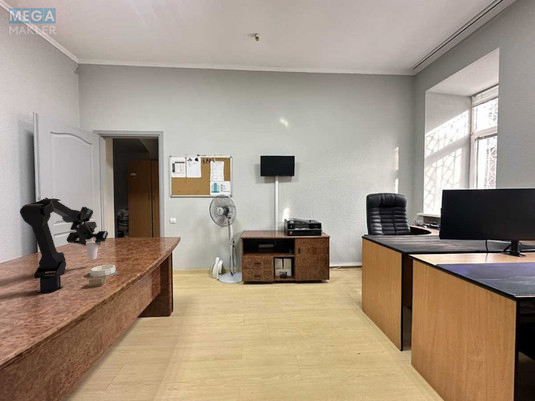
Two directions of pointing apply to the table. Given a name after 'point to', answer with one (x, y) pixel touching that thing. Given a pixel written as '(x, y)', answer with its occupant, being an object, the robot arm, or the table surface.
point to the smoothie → (92, 249)
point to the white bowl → (102, 270)
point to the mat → (106, 275)
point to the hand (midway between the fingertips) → (93, 245)
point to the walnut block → (97, 281)
